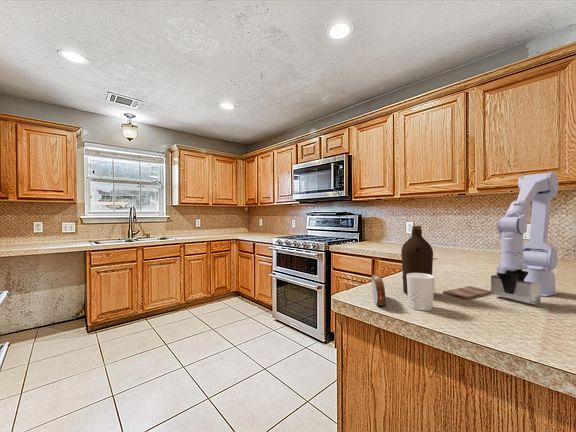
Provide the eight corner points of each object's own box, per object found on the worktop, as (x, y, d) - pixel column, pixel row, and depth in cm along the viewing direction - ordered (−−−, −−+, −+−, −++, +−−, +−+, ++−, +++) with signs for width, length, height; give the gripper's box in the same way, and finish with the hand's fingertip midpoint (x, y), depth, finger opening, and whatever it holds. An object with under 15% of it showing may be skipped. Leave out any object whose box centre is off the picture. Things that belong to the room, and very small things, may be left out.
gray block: (496, 292, 95) (496, 274, 95) (543, 303, 83) (542, 282, 83) (491, 293, 93) (490, 275, 93) (537, 304, 81) (537, 284, 81)
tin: (386, 309, 81) (386, 282, 81) (375, 309, 82) (375, 281, 82) (379, 295, 96) (379, 272, 96) (370, 294, 97) (370, 271, 97)
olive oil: (440, 296, 94) (439, 226, 94) (413, 298, 92) (412, 226, 92) (420, 288, 104) (420, 225, 104) (395, 290, 102) (395, 225, 102)
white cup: (432, 304, 86) (431, 273, 86) (437, 313, 78) (436, 279, 78) (405, 302, 88) (405, 272, 88) (408, 310, 81) (407, 277, 81)
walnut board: (469, 288, 104) (469, 286, 104) (492, 293, 97) (492, 291, 97) (442, 293, 97) (442, 291, 97) (465, 299, 90) (465, 297, 90)
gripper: (514, 255, 82) (514, 298, 82) (538, 252, 88) (538, 292, 88) (489, 252, 89) (489, 292, 89) (513, 249, 95) (513, 287, 95)
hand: (512, 292), depth 89 cm, fingers closed on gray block, 3 cm apart
